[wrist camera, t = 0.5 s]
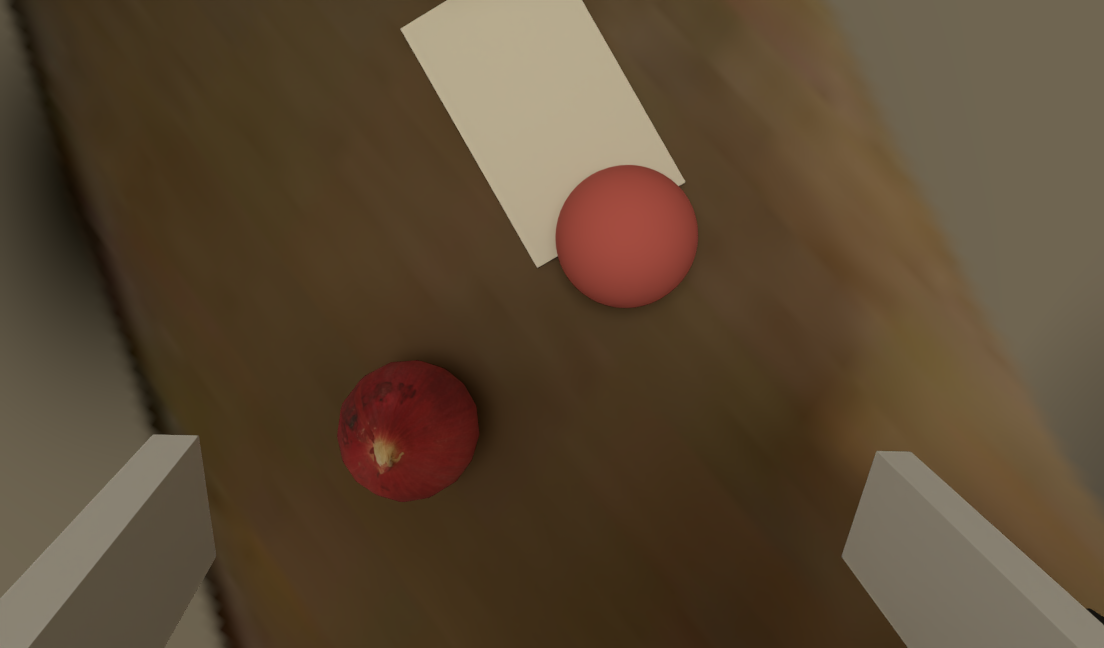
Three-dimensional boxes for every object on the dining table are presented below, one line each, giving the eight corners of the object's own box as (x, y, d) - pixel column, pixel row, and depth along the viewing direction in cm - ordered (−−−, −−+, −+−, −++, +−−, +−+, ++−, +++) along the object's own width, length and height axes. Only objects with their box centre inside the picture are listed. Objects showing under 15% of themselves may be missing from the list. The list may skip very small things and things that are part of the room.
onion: (348, 424, 30) (265, 468, 22) (417, 329, 30) (358, 340, 22) (444, 495, 30) (395, 566, 22) (513, 401, 30) (490, 438, 22)
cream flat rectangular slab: (684, 182, 29) (685, 182, 29) (537, 268, 29) (537, 267, 29) (547, -59, 29) (547, -61, 29) (401, 30, 29) (400, 29, 29)
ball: (707, 267, 29) (741, 258, 23) (597, 330, 29) (601, 337, 23) (644, 156, 29) (662, 119, 23) (534, 221, 29) (523, 200, 23)
